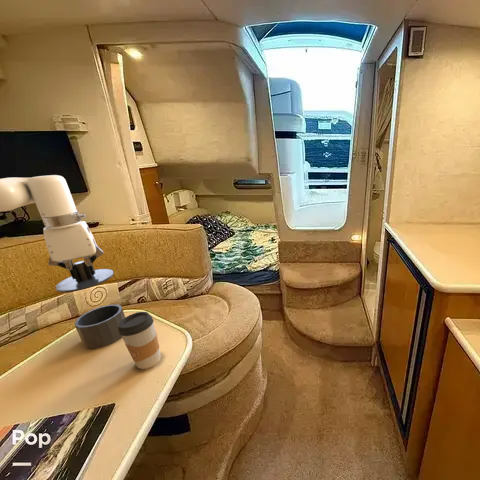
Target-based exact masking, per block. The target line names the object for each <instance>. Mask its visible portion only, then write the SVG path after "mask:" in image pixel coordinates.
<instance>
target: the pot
mask: <svg viewBox="0 0 480 480" xmlns="http://www.w3.org/2000/svg"><path fill="white" fill-rule="evenodd" d="M125 317H126V315H125V312H124V309H123V307H122V305H120V304H116V303H115V304H107V305H102V306H99V307H96V308H94V309H91V310H89V311H87V312H85V313H83V314H81V315H80V316H79V317H78V318H76V320H75V321H74V327H75V329H76V332H77V334H78V336H79V338H80V341H81V343H82V345H83V347H84V348H86V349H89V350H96V349H101V348H104V347H105V348H106V347H107V346H110V345H112V344H115V343H116V342H118V341H120V340H121V339H123V338H122V336H121V335H120V334H119V330H118V327H119V323H120V321H121V320H122V319H124V318H125Z"/></svg>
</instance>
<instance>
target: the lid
mask: <svg viewBox="0 0 480 480" xmlns="http://www.w3.org/2000/svg"><path fill="white" fill-rule="evenodd" d="M73 264H74V265H75V268H76V270H77V273H78V275H79V277H80V281H79V282H76V279H73V278H72V276H69V277H68V278H67V277H66V278H65V279H64V280H61V281H60V282H59V283H57V284H56V286H55V287H54V288H55V291H56V292H58V293H73V292H79V291H84V290H88V289H90V288H93V287H96V286H98V285H101V284H104V283H105V282H107V281H109V280H111V278H113V277H114V275H115V272H114V270H112V269H110V268H100V269H94V270H95V274H94V276H93V278H92V279H89V276H88V274H87V271H86V269H85V267H86V263H85V261H84V260H80V261H77V262H73Z"/></svg>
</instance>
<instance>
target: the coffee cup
mask: <svg viewBox="0 0 480 480" xmlns="http://www.w3.org/2000/svg"><path fill="white" fill-rule="evenodd" d="M118 330H119V334H120V335H121V336H122V338H121V339H122V340H123V342H124V345H125V347H126V349H127V351H128V353H129V355H130V357H131V359H132V360H133V362H134V364H135V366H136V367H137V368H138V369H140V370H147V369H150V368H152V367H154V366H156V365H157V364H158V363H159V361H160V360H161V357H162V353H161V348H160V344H159V339H158V334H157V331H156V328H155V324H154V318H153V316H152V315H151V314H150V313H149V312H147V311H138V312H135V313H131V314H129V315H127V316H125V318H124V319H122V320H121V321H120V323H119V327H118Z"/></svg>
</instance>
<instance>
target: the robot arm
mask: <svg viewBox="0 0 480 480" xmlns="http://www.w3.org/2000/svg"><path fill="white" fill-rule="evenodd" d="M31 204H32V205H33V204H35V205H36V209H37V210H38V213H39V215H40V217H41V219H42V223H43V225H44V227H43V229H42V231H43V238H44V241H45V245H46V249H47V252H48V254H49V258H48V263H47V264H48V266H50V267H51V266H54V267H60V268H63V269H66V271H68V272H69V273H70V275H71V276H70V277H72V278H73V279H76V282H79V281H80V277H79V275H78V273H77V270H76V268H75V265H74V261H73V260H77V259H83V261H84V262H85V264H86V267H85V269H86V271H87V274H88V276H89V279H92V278H93V276H94V274H95V270H96V269H95V268H94V263H95V261H96V260H97V259H98V258H100V257H101V256H103V255H104V254H105V251H103V249H101V248H100V247H99V246H98V244H97V242H96V239H95V237H94V235H93V233H92V231H91V229H90V227H89V225H88V224H87V222H86V221H85V220H83V219H85V218H87V215H86V213H85V212H84V213H83V212H82V213H81V212H79V211H78V210H77V207H76V205H75V204H76V203H75V201H74V198H73V196H72V194H71V191H70V188H69V185H68V183H67V180H66V178H64V176H62V175H58V174H50V175H38V176H32V177H17V176H16V177H4V178H3V177H2V178H0V213H2V212H9V211H13V210H15V209H17V208H21V207H25V206H27V205H31Z"/></svg>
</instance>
